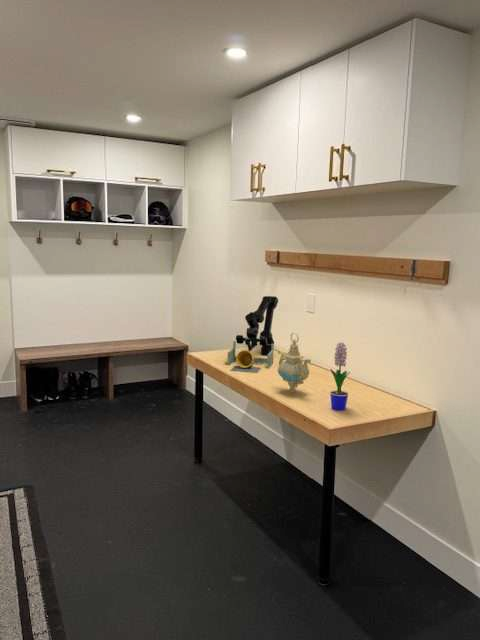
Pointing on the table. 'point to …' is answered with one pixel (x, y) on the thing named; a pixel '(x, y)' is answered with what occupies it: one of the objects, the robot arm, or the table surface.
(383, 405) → the table surface
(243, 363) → the plant pot
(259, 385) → the table surface
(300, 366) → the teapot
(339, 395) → the hyacinth
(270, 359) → the grey-green open frame
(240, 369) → the mat
